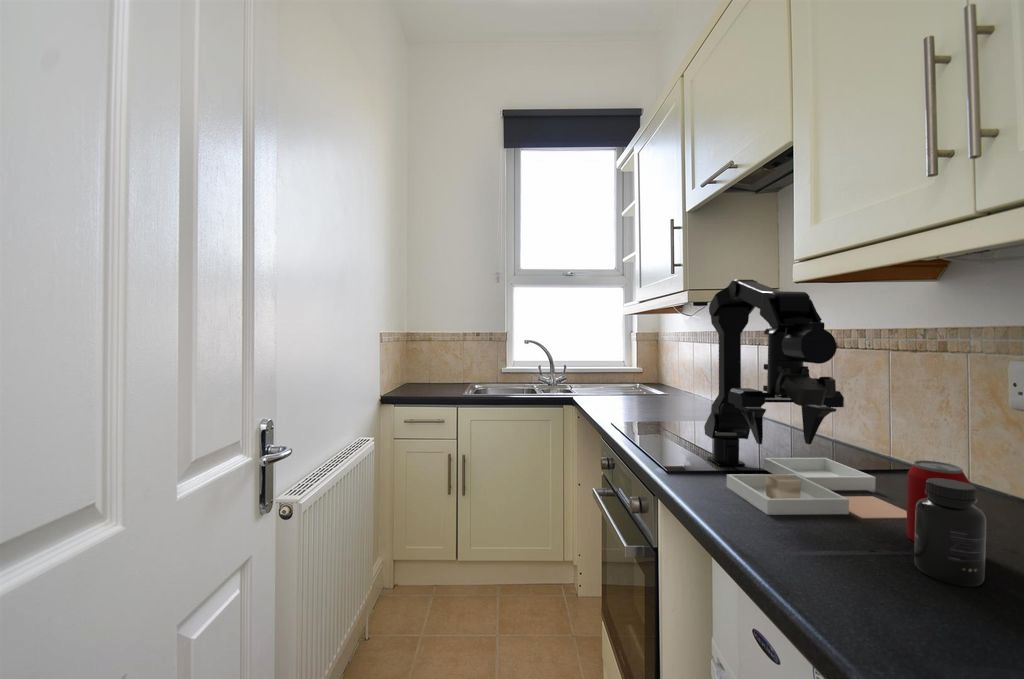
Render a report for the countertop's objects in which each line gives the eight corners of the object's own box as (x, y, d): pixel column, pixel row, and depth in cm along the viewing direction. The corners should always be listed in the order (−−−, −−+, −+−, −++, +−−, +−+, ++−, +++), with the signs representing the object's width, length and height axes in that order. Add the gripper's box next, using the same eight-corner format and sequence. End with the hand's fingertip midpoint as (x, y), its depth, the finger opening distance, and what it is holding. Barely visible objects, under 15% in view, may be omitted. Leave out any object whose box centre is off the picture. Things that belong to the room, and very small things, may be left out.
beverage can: (949, 539, 72) (951, 461, 72) (979, 559, 66) (981, 474, 66) (897, 533, 74) (898, 457, 74) (921, 553, 68) (923, 469, 67)
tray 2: (763, 471, 107) (764, 457, 107) (825, 470, 107) (825, 457, 107) (804, 492, 93) (805, 477, 93) (875, 492, 93) (875, 477, 93)
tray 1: (726, 489, 95) (726, 474, 94) (796, 488, 95) (796, 474, 95) (767, 517, 80) (767, 499, 80) (848, 516, 81) (849, 499, 81)
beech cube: (766, 495, 90) (766, 474, 90) (786, 495, 90) (787, 474, 90) (778, 503, 86) (779, 481, 86) (800, 503, 86) (800, 481, 86)
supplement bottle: (901, 560, 66) (903, 474, 65) (954, 562, 65) (956, 476, 65) (940, 586, 59) (943, 490, 59) (1001, 590, 58) (1003, 493, 58)
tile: (821, 499, 89) (821, 496, 89) (873, 499, 89) (873, 496, 89) (862, 521, 79) (862, 517, 79) (920, 520, 79) (920, 517, 79)
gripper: (759, 362, 79) (758, 455, 79) (869, 363, 79) (866, 455, 80) (727, 358, 90) (726, 440, 90) (823, 359, 91) (821, 440, 91)
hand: (783, 444), depth 88 cm, fingers open, 9 cm apart
